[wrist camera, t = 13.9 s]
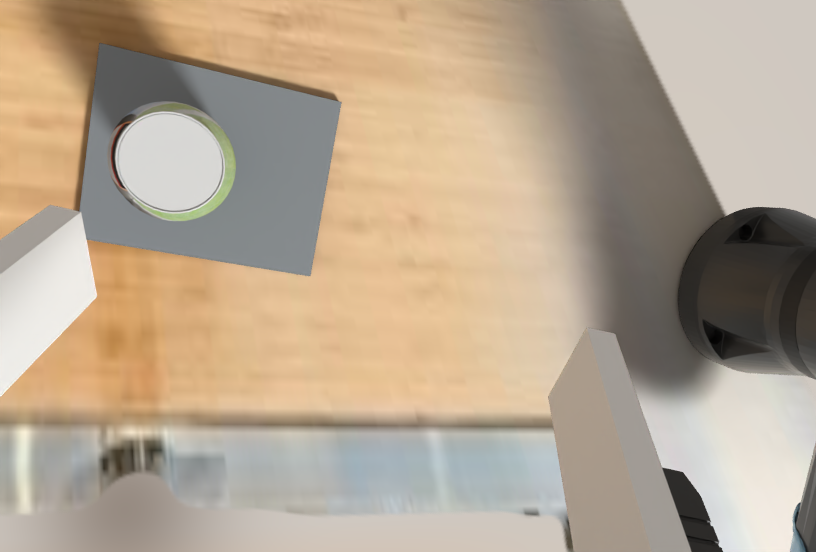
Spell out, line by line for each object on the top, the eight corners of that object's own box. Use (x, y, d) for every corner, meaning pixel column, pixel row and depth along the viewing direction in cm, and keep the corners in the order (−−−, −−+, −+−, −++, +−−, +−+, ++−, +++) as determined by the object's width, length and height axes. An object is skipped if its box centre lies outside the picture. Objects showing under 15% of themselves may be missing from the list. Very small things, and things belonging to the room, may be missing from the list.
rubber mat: (340, 103, 38) (341, 102, 37) (309, 274, 40) (310, 276, 39) (104, 46, 34) (99, 42, 34) (81, 236, 36) (76, 237, 35)
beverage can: (151, 104, 35) (78, 62, 23) (260, 136, 37) (243, 112, 25) (132, 195, 36) (52, 197, 24) (240, 222, 37) (215, 237, 26)
